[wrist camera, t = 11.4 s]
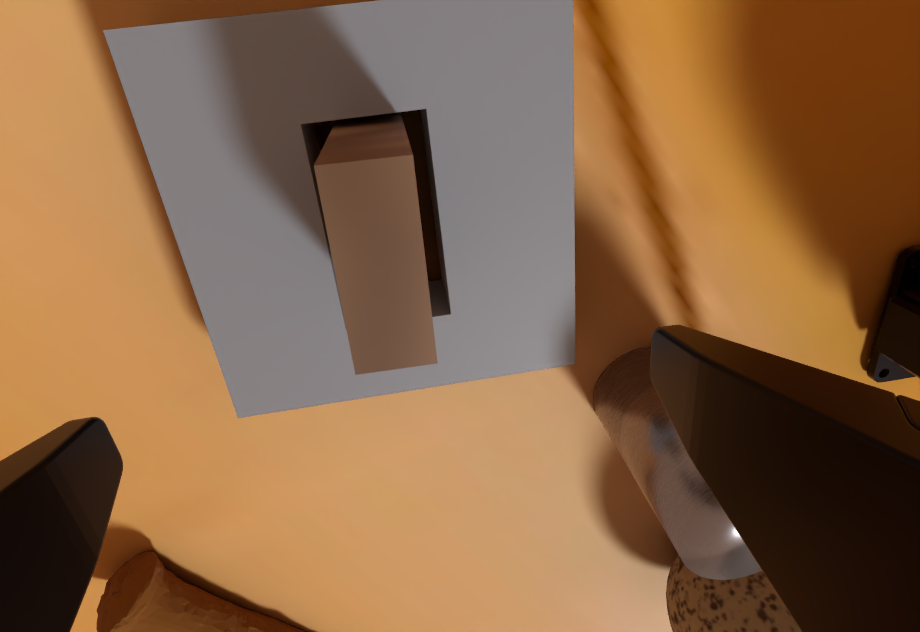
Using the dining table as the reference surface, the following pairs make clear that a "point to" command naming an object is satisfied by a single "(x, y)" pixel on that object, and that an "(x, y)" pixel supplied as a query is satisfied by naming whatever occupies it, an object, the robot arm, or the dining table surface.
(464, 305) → the slotted block
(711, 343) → the robot arm
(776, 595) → the decorative egg
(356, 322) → the walnut bar
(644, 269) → the dining table surface
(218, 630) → the primitive tool
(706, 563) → the round metal peg
